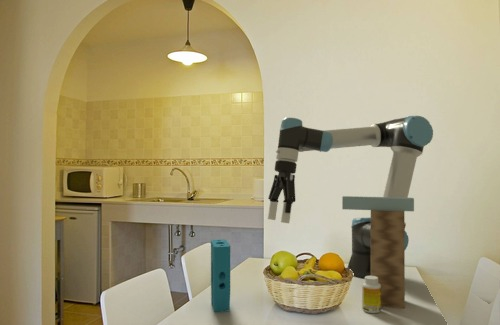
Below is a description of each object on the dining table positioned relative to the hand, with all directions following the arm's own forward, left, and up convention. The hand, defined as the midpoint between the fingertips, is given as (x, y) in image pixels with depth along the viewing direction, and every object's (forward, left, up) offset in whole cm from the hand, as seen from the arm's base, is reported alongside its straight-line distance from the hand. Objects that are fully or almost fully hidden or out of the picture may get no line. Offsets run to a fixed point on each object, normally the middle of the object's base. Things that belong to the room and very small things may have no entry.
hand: (277, 221), depth 140 cm
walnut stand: (-18, +31, -25) cm, 44 cm away
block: (+23, -3, -25) cm, 34 cm away
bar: (-17, +29, +5) cm, 33 cm away
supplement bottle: (-8, +31, -25) cm, 41 cm away
